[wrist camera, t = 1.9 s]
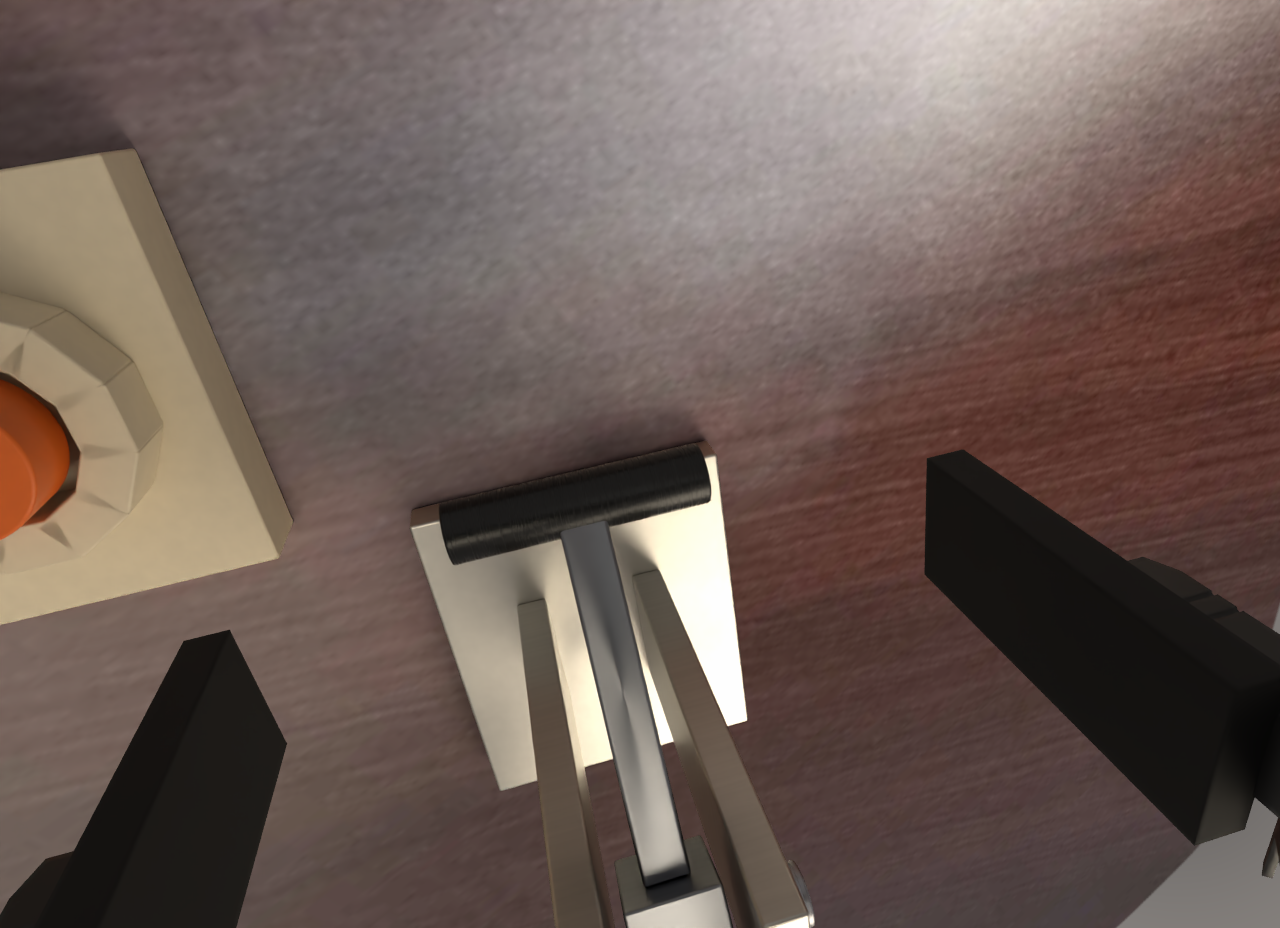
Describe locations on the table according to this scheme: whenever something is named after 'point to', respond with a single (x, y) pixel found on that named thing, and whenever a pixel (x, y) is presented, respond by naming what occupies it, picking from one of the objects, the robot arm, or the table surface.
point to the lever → (612, 653)
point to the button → (28, 457)
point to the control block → (121, 396)
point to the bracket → (570, 708)
